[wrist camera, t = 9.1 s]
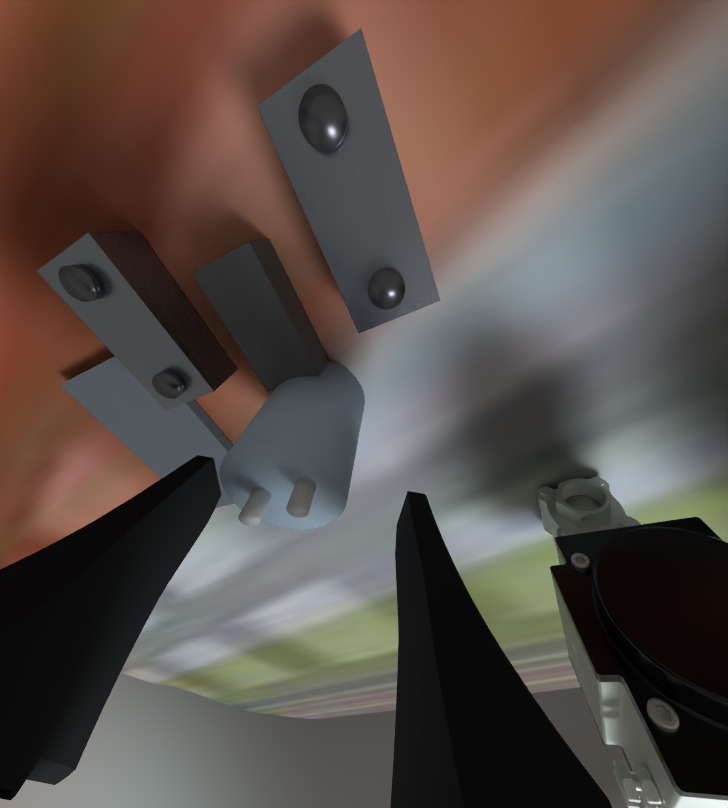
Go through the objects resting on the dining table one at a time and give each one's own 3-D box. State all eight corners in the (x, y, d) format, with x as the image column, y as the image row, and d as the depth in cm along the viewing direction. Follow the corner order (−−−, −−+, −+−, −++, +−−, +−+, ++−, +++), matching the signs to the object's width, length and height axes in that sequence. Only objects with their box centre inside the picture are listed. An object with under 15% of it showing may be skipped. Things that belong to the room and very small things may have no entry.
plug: (200, 274, 12) (11, 325, 6) (288, 228, 11) (158, 235, 5) (305, 439, 16) (254, 561, 11) (377, 420, 15) (364, 546, 9)
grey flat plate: (70, 379, 16) (59, 384, 15) (144, 340, 14) (135, 345, 13) (202, 505, 21) (197, 511, 20) (269, 488, 19) (265, 495, 18)
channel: (91, 263, 12) (24, 272, 10) (369, 70, 8) (359, 17, 6) (193, 387, 15) (159, 415, 13) (433, 287, 11) (441, 303, 9)
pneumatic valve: (614, 412, 13) (1248, 968, 3) (616, 549, 19) (865, 924, 9) (492, 442, 15) (680, 877, 5) (525, 560, 20) (649, 887, 10)
